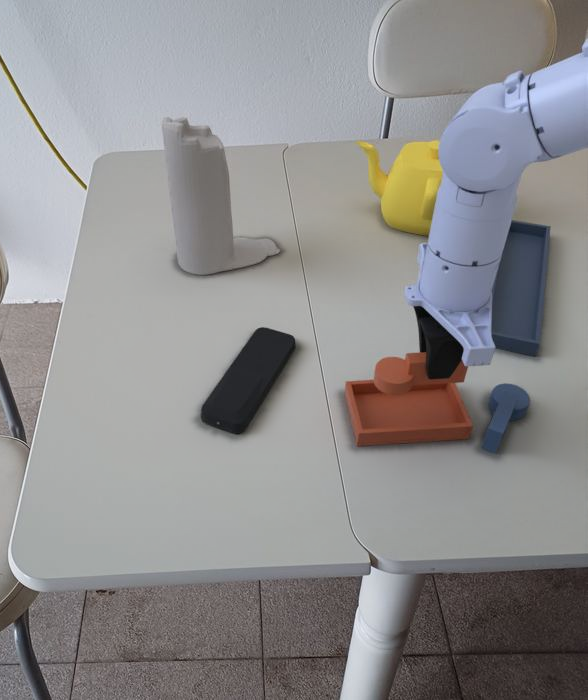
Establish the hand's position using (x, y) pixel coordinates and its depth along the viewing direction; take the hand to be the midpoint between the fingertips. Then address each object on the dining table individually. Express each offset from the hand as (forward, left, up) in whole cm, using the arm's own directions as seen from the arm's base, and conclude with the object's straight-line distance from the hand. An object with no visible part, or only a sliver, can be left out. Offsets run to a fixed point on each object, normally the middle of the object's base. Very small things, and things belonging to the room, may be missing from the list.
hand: (435, 368), depth 60 cm
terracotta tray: (+2, +1, -7) cm, 7 cm away
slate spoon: (-7, -3, -7) cm, 10 cm away
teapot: (+13, -36, -7) cm, 39 cm away
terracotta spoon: (+1, +1, -1) cm, 2 cm away
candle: (+33, -15, -7) cm, 37 cm away
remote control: (+18, +4, -7) cm, 20 cm away
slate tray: (-2, -26, -7) cm, 27 cm away
